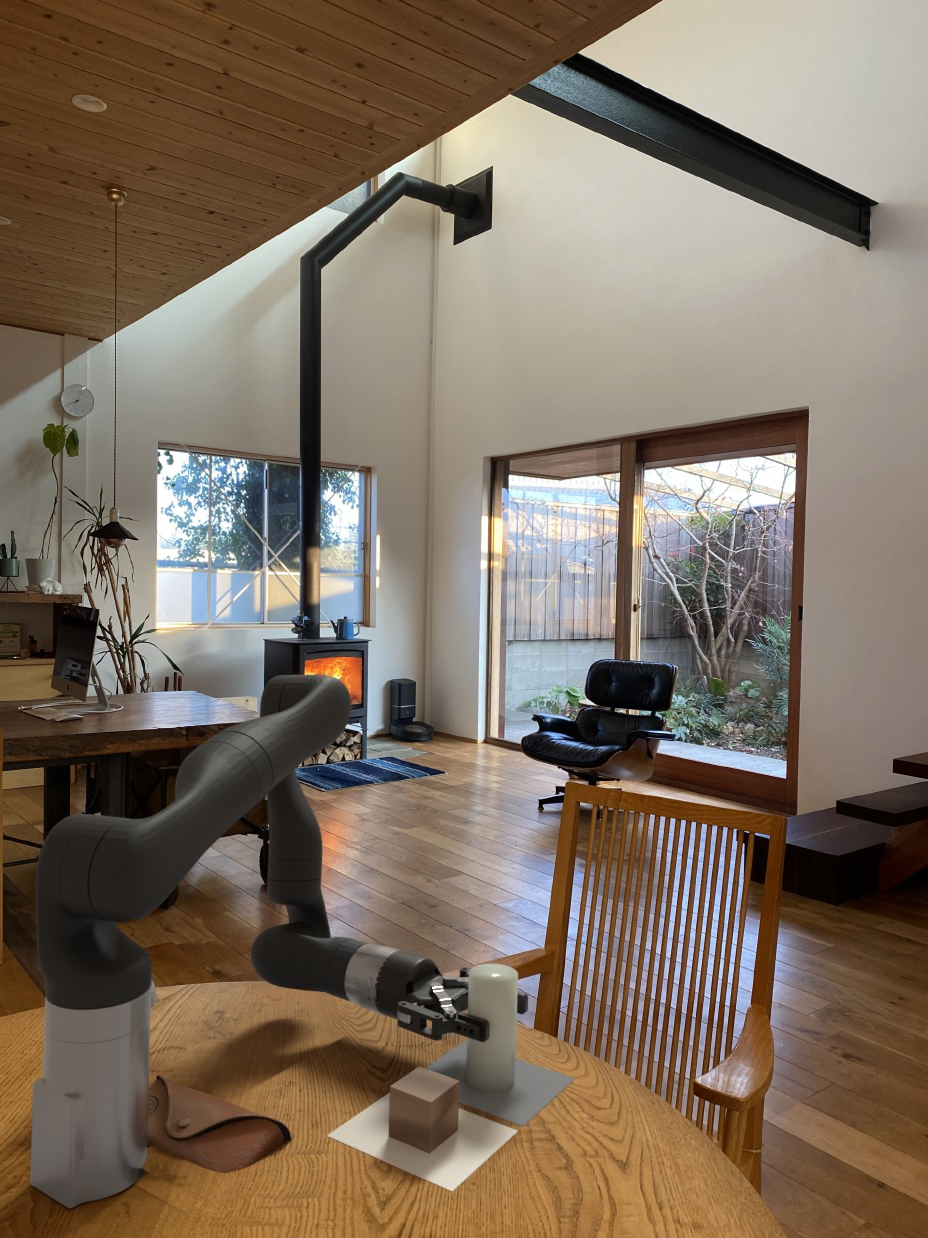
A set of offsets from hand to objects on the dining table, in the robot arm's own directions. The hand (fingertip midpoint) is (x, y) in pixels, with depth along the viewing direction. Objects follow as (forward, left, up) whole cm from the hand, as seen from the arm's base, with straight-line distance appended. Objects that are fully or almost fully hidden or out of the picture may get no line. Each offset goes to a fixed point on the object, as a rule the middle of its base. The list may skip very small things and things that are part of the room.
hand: (507, 1018), depth 103 cm
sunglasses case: (-26, +20, -9) cm, 34 cm away
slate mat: (0, +2, -8) cm, 9 cm away
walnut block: (-13, +2, -8) cm, 15 cm away
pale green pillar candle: (0, +2, -8) cm, 8 cm away
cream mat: (-13, +2, -8) cm, 16 cm away
